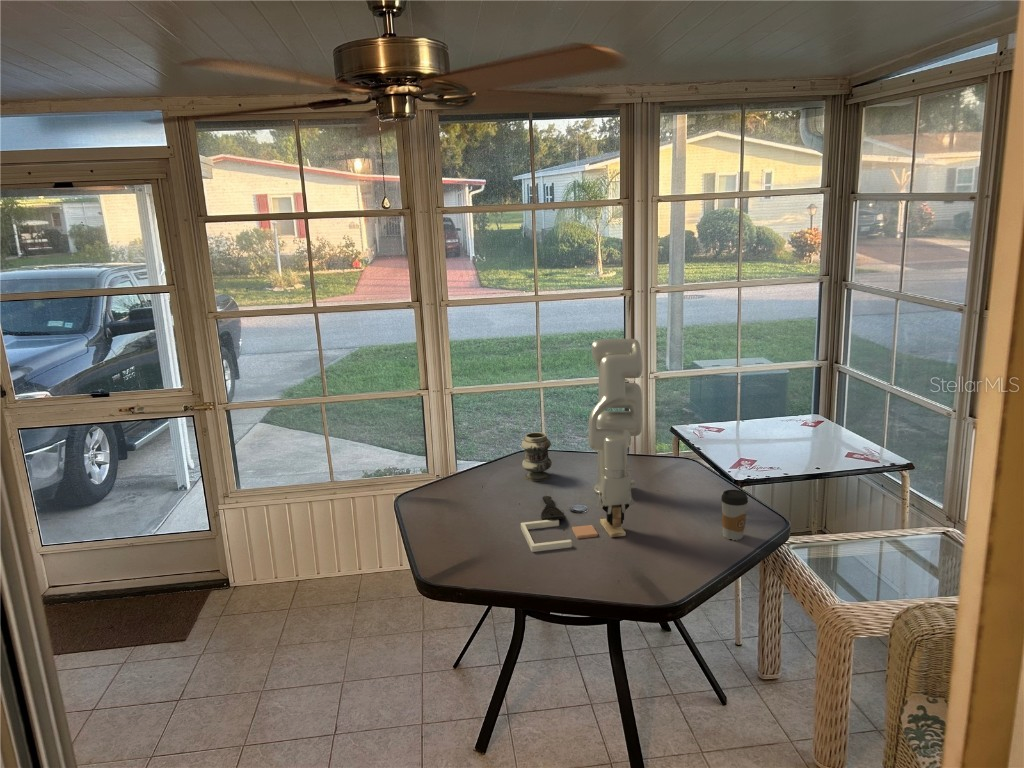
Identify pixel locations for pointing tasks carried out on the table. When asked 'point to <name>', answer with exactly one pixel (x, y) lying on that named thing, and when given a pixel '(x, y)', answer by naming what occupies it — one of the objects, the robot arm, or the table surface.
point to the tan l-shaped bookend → (614, 523)
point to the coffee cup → (734, 513)
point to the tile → (584, 531)
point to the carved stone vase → (536, 456)
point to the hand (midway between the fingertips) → (615, 522)
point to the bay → (547, 544)
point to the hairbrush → (551, 510)
